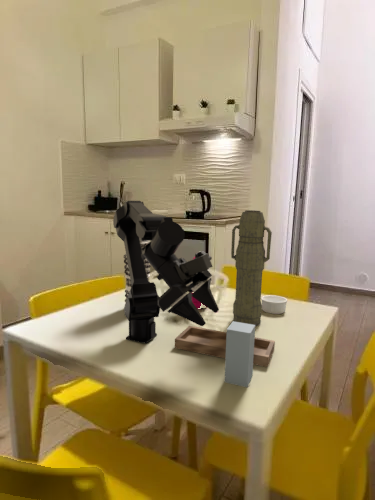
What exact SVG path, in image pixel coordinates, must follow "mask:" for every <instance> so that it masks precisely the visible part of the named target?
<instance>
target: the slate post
mask: <svg viewBox="0 0 375 500" xmlns="http://www.w3.org/2000/svg"><path fill="white" fill-rule="evenodd" d="M226 332H227V335H226V358H224V359H225V363H224V364H225V365H224V381H223V382H224V383H227V384H230V385H236V386H239V387H244V388H248V387H249V385H250V383H251V380H252V378H253V370H254V364H253V357H254V340H255V336H256V326H255V325H253V324H247V323H241V322H234V321H233V320H232V321H231V323H230V325H229V326H228V327H227V328H226Z"/></svg>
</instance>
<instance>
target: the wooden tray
mask: <svg viewBox="0 0 375 500" xmlns="http://www.w3.org/2000/svg"><path fill="white" fill-rule="evenodd" d="M226 335H227V331H222V330H218V329H216V330H215V329H211V328H205V327H201V326H199V327H198V326H193V325H188V326H187V327H186V328H185V329H183V330H182V332H180V333H179V335H178V336H176V337H175V338H174V349H179V350H183V351H188V352H192V353H198V354H202V355H203V354H204V355H207V356H213V357H217V358H222V359H225V358H226ZM275 345H276V340H272V339H267V338H261V337H255V340H254V357H253V365H256V366H260V367H265V368H268V367H269V365H270V363H271V360H272V357H273V354H274V352H275V347H276V346H275Z"/></svg>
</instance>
